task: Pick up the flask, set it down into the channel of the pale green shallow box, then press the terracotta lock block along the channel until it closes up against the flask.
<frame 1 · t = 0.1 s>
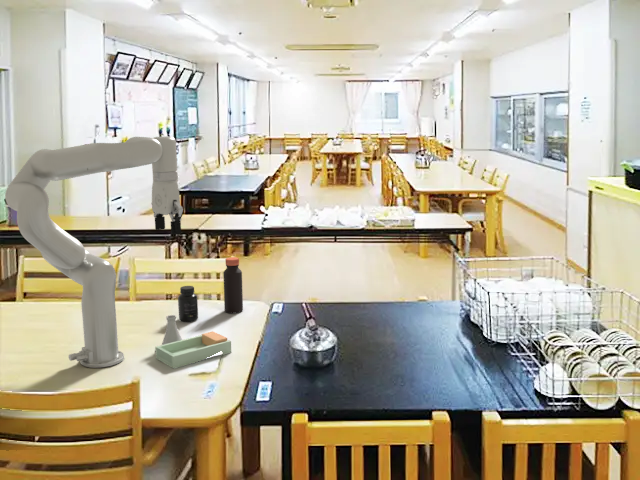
hand: (168, 231, 214), 37 cm above the table, tool pointing down, fingers open, 9 cm apart
supplement bottle: (188, 320, 245), on the table
flask: (172, 347, 218), on the table
lock block: (214, 340, 214), point 3 cm above the table, slide at 0.0 cm
pale green shallow box: (194, 355, 210), on the table
vinegar: (233, 311, 255), on the table
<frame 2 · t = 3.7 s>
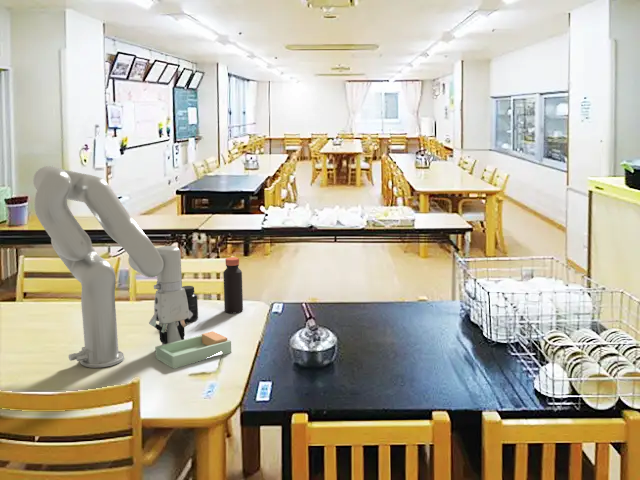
hand: (172, 340, 218), 2 cm above the table, tool pointing down, fingers closed on flask, 5 cm apart
flask: (172, 347, 218), on the table, touching gripper
everything else where it was.
when the fingers open (5 cm above the table, at t = 8.4 s): flask drops 2 cm, resting on pale green shallow box.
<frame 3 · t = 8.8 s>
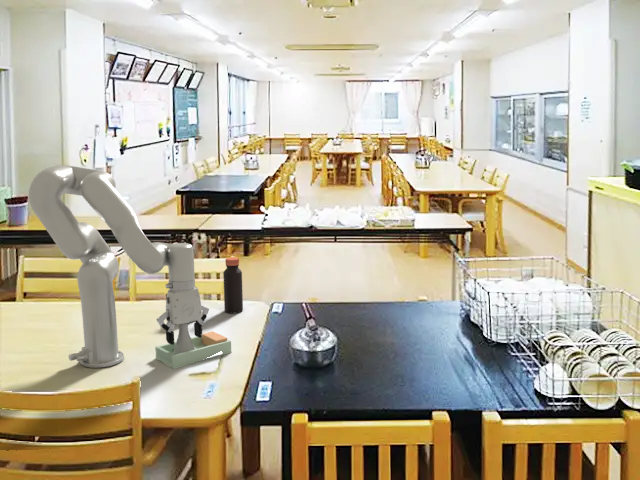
hand: (184, 339, 207), 6 cm above the table, tool pointing down, fingers open, 9 cm apart
flask: (184, 354, 208), point 1 cm above the table, touching pale green shallow box
everything else where it was.
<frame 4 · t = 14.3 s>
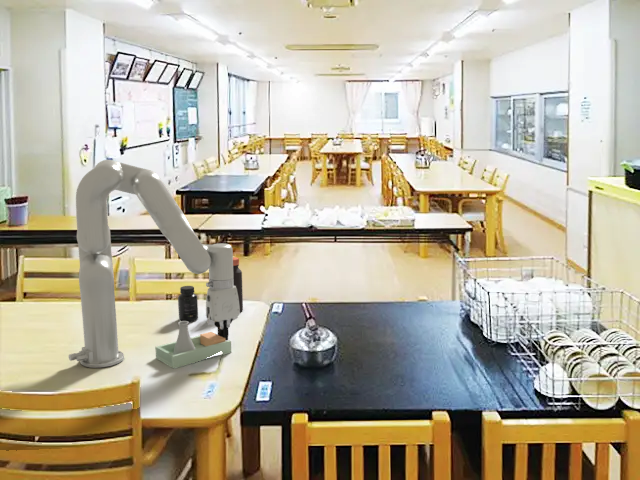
hand: (223, 339, 216), 3 cm above the table, tool pointing down, fingers closed
lock block: (212, 341, 214), point 3 cm above the table, slide at 0.7 cm, touching gripper
everything else where it was.
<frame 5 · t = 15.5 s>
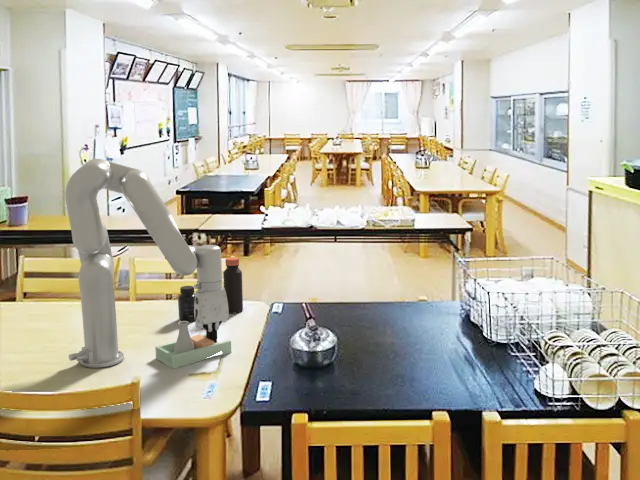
hand: (212, 342, 214), 3 cm above the table, tool pointing down, fingers closed
lock block: (201, 344, 211), point 3 cm above the table, slide at 4.8 cm, touching gripper
everything else where it was.
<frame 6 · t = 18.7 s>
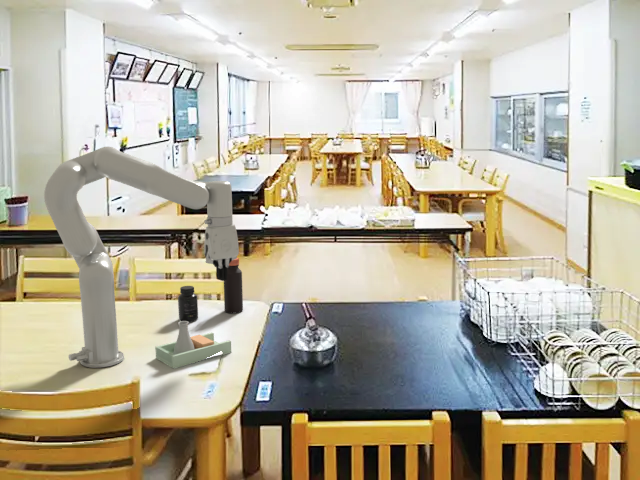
hand: (222, 279, 213), 22 cm above the table, tool pointing down, fingers closed
lock block: (201, 344, 211), point 3 cm above the table, slide at 4.8 cm
everything else where it was.
at the end: flask inside the target area on the pale green shallow box (1.2 cm from its centre), point 1.0 cm above the pale green shallow box's base; flask tilted 0°; lock block slide at 4.8 cm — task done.
